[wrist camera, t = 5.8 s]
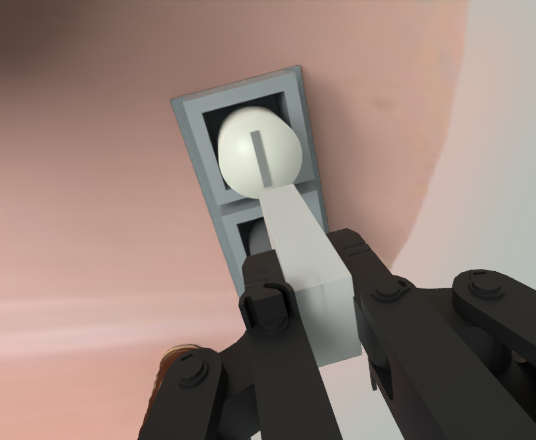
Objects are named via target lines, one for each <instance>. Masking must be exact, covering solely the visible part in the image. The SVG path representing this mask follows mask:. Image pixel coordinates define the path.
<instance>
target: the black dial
mask: <svg viewBox="0 0 536 440" xmlns="http://www.w3.org/2000/svg"><path fill="white" fill-rule="evenodd" d="M248 243H249V249H250V254H251V255H255V254H258V253H262V252H265V251H269V250H272V247H271V243H270V239H269V235H268V231H267V227H266V223H265V220H264V217H260V218H258V219H257V220H256V221H255V222H254V223H253V225H252V226H251V228H250V230H249V234H248Z"/></svg>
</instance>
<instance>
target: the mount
mask: <svg viewBox="0 0 536 440" xmlns="http://www.w3.org/2000/svg"><path fill="white" fill-rule="evenodd" d="M170 102H171V104H172V107H173V110H174V113H175V116H176V119H177V122H178V124H179V127H180V130H181V133H182V136H183V139H184V142H185V144H186V147H187V150H188V153H189V156H190V159H191V162H192V165H193V167H194V170H195V173H196V176H197V179H198V182H199V185H200V187H201V190H202V193H203V196H204V199H205V202H206V205H207V208H208V210H209V213H210V216H211V219H212V222H213V225H214V228H215V230H216V233H217V236H218V239H219V242H220V245H221V248H222V251H223V253H224V256H225V259H226V262H227V265H228V268H229V271H230V273H231V276H232V279H233V282H234V285H235V288H236V291H237V293H238V296H239V299H240V297H241V295H242V294H243V293H244V291H245V288H244V287H245V286H244V281H243V274H242V265H243V263H244V261H245V259H246V257H247V256H251V254H250V249H249V243H248V234H249V230H250V228H251V226H252V225H253V223H254V222H255V221H256V220H257V219H258V218H260V217H264V216H263V212H262V208H261V204H260V200H259V199H254V198H249V197H245V196H243V195H241V194H239V193H237V192H236V191H234V190H233V189H232V188H231V187H230V186H229V185H228V184H227V182H226V181H225V179H224V178H223V176H222V173H221V171H220V167H219V155H218V132H219V128H220V125H221V123H222V121H223V120H224V118H225V117H226V116H227V114H229V113H230V112H231V111H232V110H234V109H235V108H237V107H239V106H242V105H247V104H256V105H261V106H264V107H266V108H268V109H270V110H271V111H272V112H274V113H275V114H276V115H277V116H278V117H279V118H280V119H281V120H282V121H283V122H285V123H286V124H287V125H288V126H289V127H290V128H291V129H292V130H293V131H294V133H295V134H296V136H297V137H298V139H299V142H300V145H301V148H302V165H301V168H300V171H299V174H298V176H297V177H296V179H295V181H294V182H293V183H292V184H294V186H295V187H296V189H297V191H298V192H299V194H300V195H301V197H302V198H303V200H304V202H305V203H306V205H307V206H308V208H309V209H310V211H311V213H312V214H313V216H314V217H315V219H316V220H317V222H318V224H319V225H320V227H321V228H322V230H323V231H324V233H325V234H327V233H329V227H328V222H327V216H326V210H325V205H324V199H323V193H322V188H321V182H320V176H319V171H318V165H317V160H316V154H315V148H314V143H313V137H312V131H311V126H310V120H309V114H308V109H307V103H306V97H305V92H304V86H303V80H302V75H301V69H300V65H297V66H293V67H289V68H285V69H282V70H278V71H274V72H270V73H267V74H263V75H259V76H255V77H252V78H248V79H244V80H240V81H237V82H233V83H229V84H226V85H222V86H218V87H214V88H211V89H207V90H203V91H199V92H196V93H192V94H188V95H184V96H181V97H177V98H173V99H171V100H170Z"/></svg>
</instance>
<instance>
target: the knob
mask: <svg viewBox="0 0 536 440" xmlns="http://www.w3.org/2000/svg"><path fill="white" fill-rule="evenodd" d="M218 155H219V167H220V171H221V173H222V176H223V178H224V179H225V181H226V182H227V184H228V185H229V186H230V187H231V188H232V189H233V190H234V191H236V192H237V193H239V194H241V195H243V196H245V197H249V198H254V199H259V196H258V193H260V192H263V191H267V190H271V189H275V188H278V187H282V186H286V185H290V184H292V183H293V182H294V181H295V179H296V177H297V176H298V174H299V171H300V168H301V165H302V148H301V145H300V142H299V139H298V137H297V136H296V134H295V133H294V131H293V130H292V129H291V128H290V127H289V126H288V125H287V124H286V123H285V122H283V121H282V120H281V119H280V118H279V117H278V116H277V115H276V114H275V113H274V112H272V111H271V110H270V109H268V108H266V107H264V106H261V105H256V104H247V105H242V106H239V107H237V108H235V109H234V110H232V111H231V112H230V113H229V114H227V116H226V117H225V118H224V120H223V121H222V123H221V125H220V128H219V132H218Z"/></svg>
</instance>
